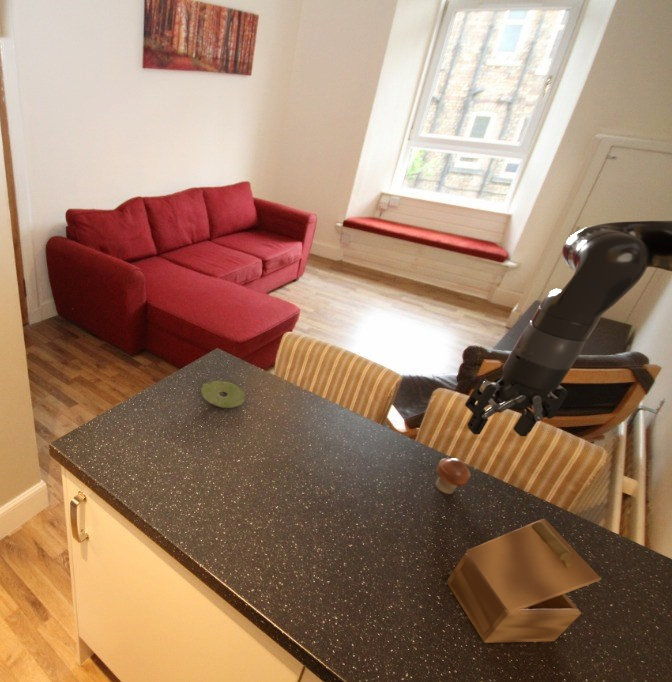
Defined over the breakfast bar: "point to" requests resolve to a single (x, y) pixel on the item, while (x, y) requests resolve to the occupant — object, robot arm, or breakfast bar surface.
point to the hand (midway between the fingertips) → (495, 432)
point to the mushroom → (451, 475)
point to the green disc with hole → (223, 394)
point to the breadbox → (494, 617)
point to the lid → (531, 566)
